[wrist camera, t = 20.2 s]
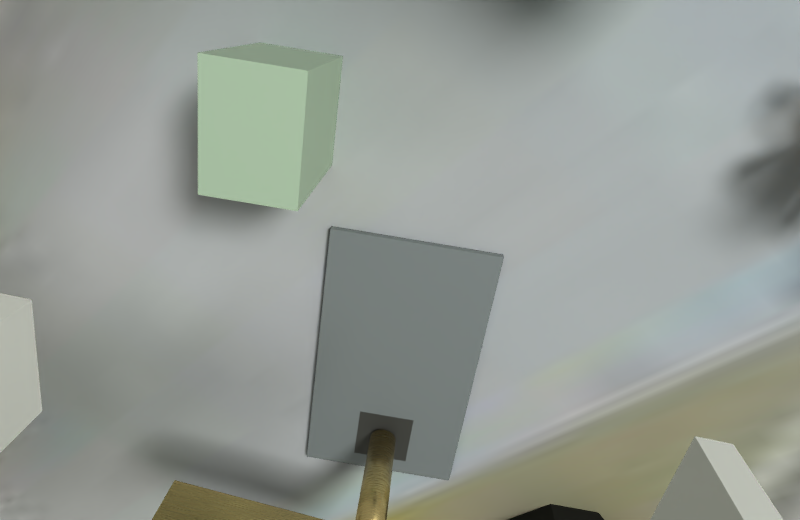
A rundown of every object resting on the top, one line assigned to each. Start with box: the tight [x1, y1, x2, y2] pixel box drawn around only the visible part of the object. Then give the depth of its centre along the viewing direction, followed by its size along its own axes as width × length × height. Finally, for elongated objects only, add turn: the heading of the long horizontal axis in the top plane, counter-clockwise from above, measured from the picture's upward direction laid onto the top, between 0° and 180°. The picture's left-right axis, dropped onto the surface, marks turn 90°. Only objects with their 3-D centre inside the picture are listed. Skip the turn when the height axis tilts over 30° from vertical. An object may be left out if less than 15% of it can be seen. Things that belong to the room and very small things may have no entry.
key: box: [152, 430, 396, 520], centre depth 45 cm, size 16×2×15 cm, turn 74°
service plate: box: [307, 226, 504, 480], centre depth 50 cm, size 24×14×1 cm, turn 172°
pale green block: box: [198, 43, 343, 211], centre depth 36 cm, size 8×6×11 cm
